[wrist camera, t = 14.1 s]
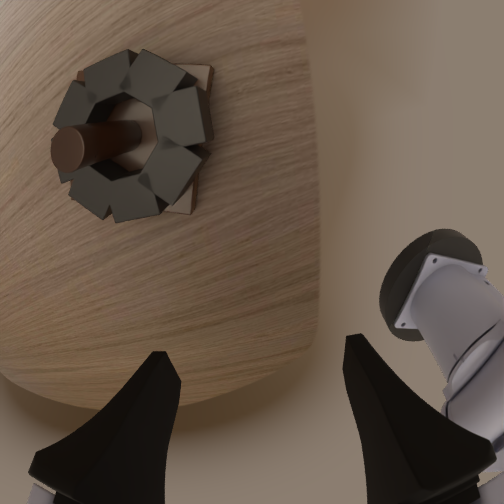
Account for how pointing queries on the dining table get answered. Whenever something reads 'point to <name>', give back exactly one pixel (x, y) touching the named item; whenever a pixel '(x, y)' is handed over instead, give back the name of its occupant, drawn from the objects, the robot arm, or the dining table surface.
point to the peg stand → (123, 138)
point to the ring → (166, 125)
